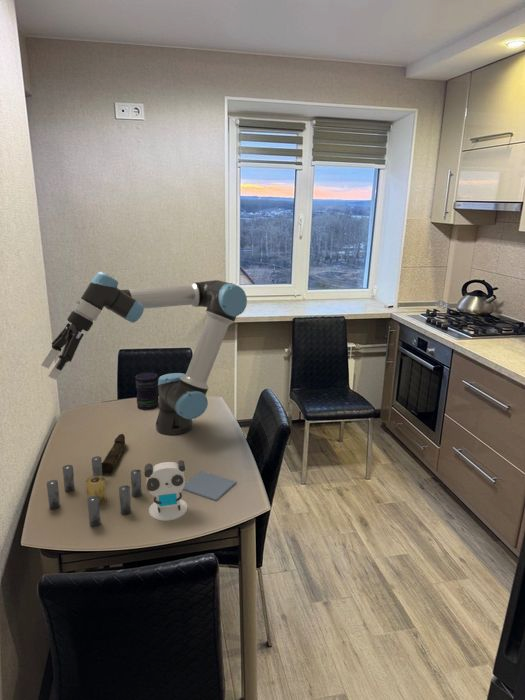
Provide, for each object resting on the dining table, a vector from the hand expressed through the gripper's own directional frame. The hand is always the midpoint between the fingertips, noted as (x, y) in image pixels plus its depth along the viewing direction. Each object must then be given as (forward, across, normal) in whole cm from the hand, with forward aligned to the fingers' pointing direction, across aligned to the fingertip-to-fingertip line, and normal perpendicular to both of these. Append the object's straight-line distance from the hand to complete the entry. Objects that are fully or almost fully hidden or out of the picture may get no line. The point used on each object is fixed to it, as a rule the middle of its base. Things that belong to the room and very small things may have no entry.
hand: (48, 372), depth 152 cm
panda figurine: (+16, +39, +40) cm, 58 cm away
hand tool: (+18, 0, +36) cm, 41 cm away
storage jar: (+2, -42, +58) cm, 72 cm away
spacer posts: (+25, +24, +27) cm, 44 cm away
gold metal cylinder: (+25, +24, +27) cm, 44 cm away
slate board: (+6, +34, +54) cm, 64 cm away
